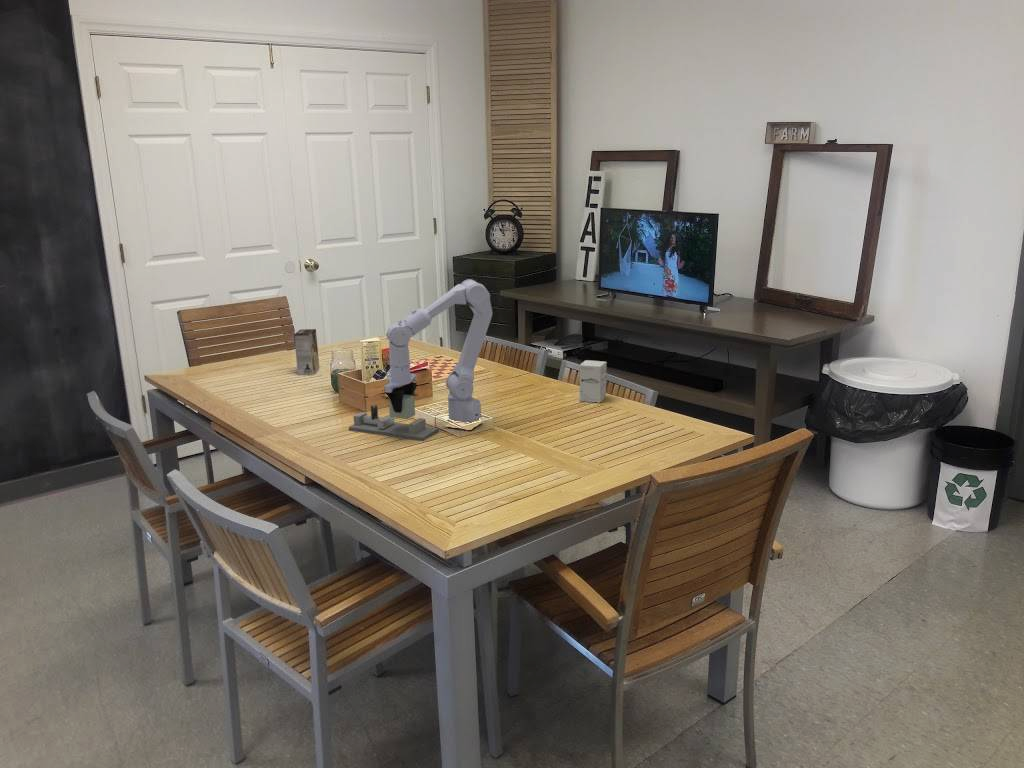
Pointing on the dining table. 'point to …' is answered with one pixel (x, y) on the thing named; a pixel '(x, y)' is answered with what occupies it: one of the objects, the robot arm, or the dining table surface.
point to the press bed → (396, 429)
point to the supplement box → (592, 381)
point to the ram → (378, 419)
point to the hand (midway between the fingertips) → (402, 409)
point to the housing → (404, 408)
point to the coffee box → (306, 351)
